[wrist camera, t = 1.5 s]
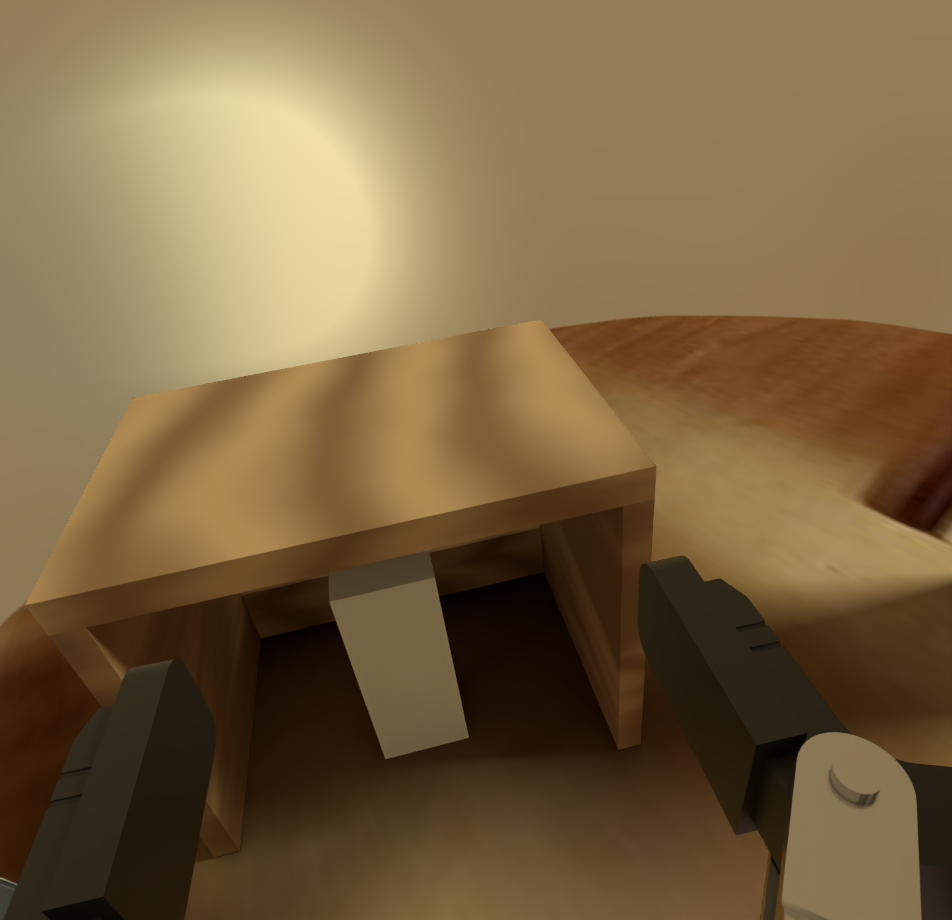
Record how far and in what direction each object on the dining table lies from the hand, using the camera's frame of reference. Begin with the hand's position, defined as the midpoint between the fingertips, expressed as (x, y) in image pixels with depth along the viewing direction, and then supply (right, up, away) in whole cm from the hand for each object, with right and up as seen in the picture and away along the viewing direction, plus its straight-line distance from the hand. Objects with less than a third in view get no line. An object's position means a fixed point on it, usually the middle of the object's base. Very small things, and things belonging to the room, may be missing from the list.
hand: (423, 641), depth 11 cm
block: (-2, -11, +24) cm, 27 cm away
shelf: (-3, -10, +26) cm, 28 cm away
